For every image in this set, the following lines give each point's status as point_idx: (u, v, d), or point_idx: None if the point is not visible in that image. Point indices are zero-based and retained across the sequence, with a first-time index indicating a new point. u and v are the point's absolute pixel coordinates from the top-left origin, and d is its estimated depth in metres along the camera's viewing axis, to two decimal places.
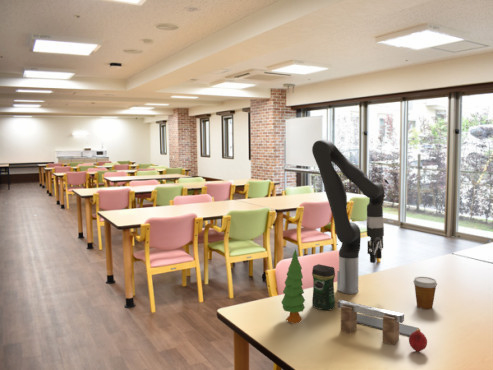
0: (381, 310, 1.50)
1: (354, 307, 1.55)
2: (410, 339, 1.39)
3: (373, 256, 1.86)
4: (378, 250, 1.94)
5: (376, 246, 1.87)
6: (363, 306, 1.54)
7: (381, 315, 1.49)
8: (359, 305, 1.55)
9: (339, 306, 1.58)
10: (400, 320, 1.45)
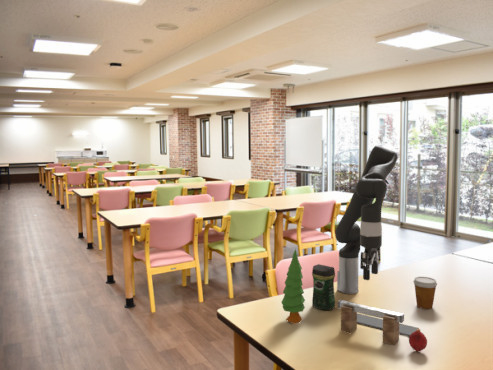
0: (381, 310, 1.50)
1: (354, 307, 1.55)
2: (410, 339, 1.39)
3: (367, 272, 1.47)
4: (374, 264, 1.54)
5: (371, 259, 1.47)
6: (363, 306, 1.54)
7: (381, 315, 1.49)
8: (359, 305, 1.55)
9: (339, 306, 1.58)
10: (400, 320, 1.45)
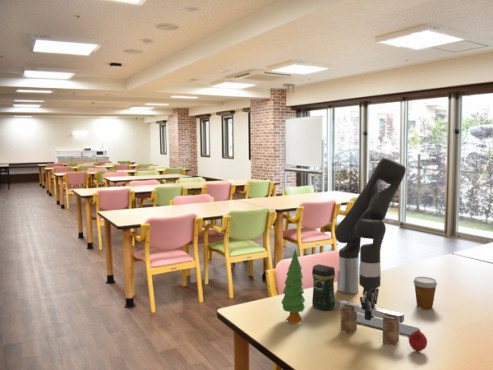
0: (381, 310, 1.50)
1: (354, 307, 1.55)
2: (410, 339, 1.39)
3: (369, 312, 1.50)
4: None
5: (371, 301, 1.49)
6: None
7: (381, 315, 1.49)
8: (359, 305, 1.55)
9: (339, 306, 1.58)
10: (400, 320, 1.45)
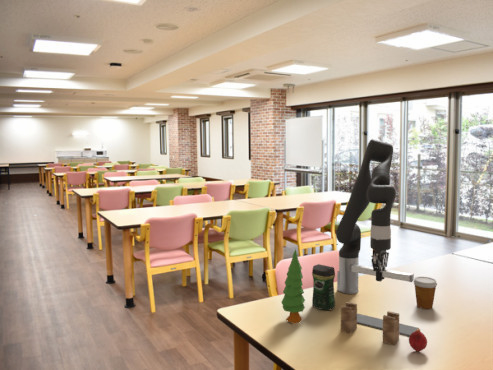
0: (391, 271, 1.58)
1: (365, 270, 1.62)
2: (410, 339, 1.39)
3: (380, 274, 1.58)
4: None
5: (382, 262, 1.57)
6: None
7: (392, 276, 1.56)
8: (370, 268, 1.63)
9: (351, 269, 1.66)
10: (410, 279, 1.52)
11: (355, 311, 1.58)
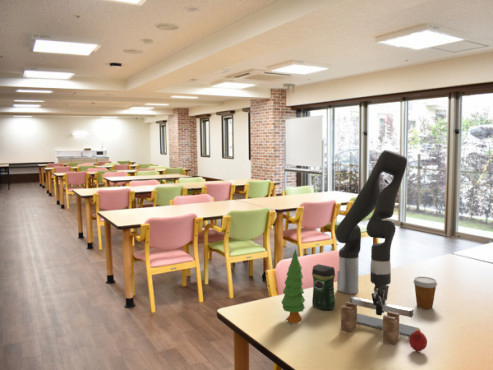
0: (391, 305, 1.59)
1: (366, 303, 1.64)
2: (410, 339, 1.39)
3: (380, 308, 1.59)
4: None
5: (382, 297, 1.58)
6: None
7: (392, 310, 1.58)
8: (370, 301, 1.64)
9: (351, 302, 1.67)
10: (410, 315, 1.54)
11: (355, 311, 1.58)
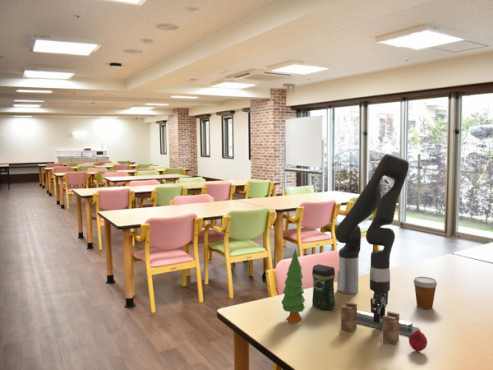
0: None
1: (365, 316, 1.64)
2: (410, 339, 1.39)
3: (377, 315, 1.58)
4: (381, 307, 1.64)
5: (381, 303, 1.58)
6: None
7: None
8: (370, 314, 1.64)
9: None
10: (409, 329, 1.54)
11: (355, 311, 1.58)
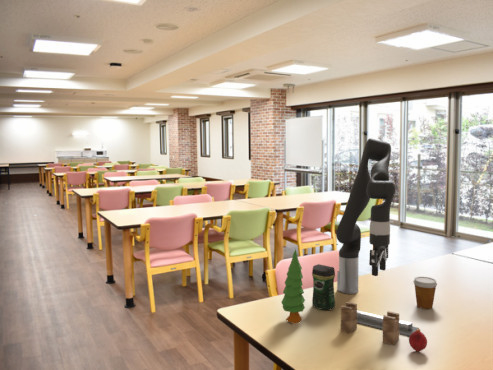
0: None
1: (365, 316, 1.64)
2: (410, 339, 1.39)
3: (376, 268, 1.56)
4: (382, 260, 1.64)
5: (380, 256, 1.57)
6: (373, 315, 1.63)
7: None
8: (370, 314, 1.64)
9: None
10: (409, 329, 1.54)
11: (355, 311, 1.58)
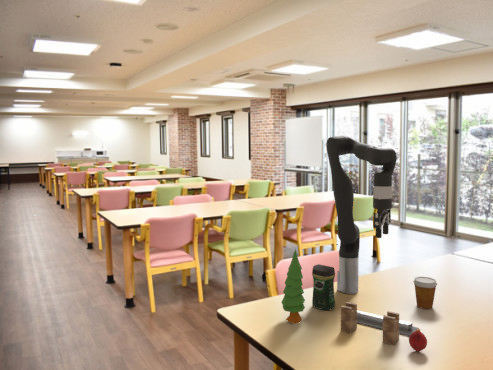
0: None
1: (365, 316, 1.64)
2: (410, 339, 1.39)
3: (379, 230, 1.65)
4: (385, 225, 1.73)
5: (383, 219, 1.66)
6: (373, 315, 1.63)
7: None
8: (370, 314, 1.64)
9: None
10: (409, 329, 1.54)
11: (355, 311, 1.58)
